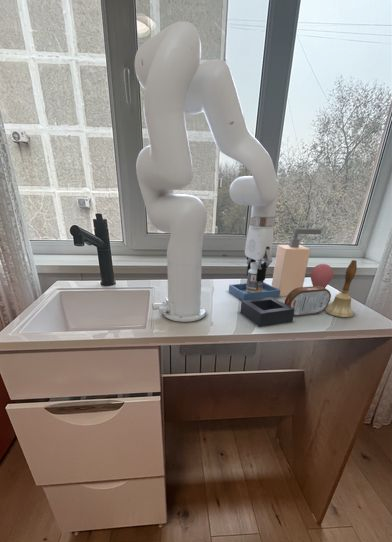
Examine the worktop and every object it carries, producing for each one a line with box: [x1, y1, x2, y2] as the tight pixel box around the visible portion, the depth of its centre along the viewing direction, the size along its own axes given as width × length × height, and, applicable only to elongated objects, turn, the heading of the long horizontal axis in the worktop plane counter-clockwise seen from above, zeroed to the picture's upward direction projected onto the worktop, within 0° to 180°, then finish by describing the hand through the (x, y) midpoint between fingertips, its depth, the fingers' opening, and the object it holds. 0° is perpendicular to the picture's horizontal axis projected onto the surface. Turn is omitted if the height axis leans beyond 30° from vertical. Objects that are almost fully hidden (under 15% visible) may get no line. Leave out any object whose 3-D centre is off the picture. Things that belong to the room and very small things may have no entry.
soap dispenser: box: [271, 228, 323, 297], centre depth 102 cm, size 13×9×22 cm
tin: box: [283, 285, 332, 317], centre depth 86 cm, size 15×3×8 cm, turn 109°
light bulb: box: [310, 263, 334, 289], centre depth 98 cm, size 7×7×12 cm
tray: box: [228, 281, 281, 301], centre depth 103 cm, size 14×11×3 cm
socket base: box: [239, 297, 295, 328], centre depth 84 cm, size 11×11×4 cm
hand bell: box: [324, 259, 358, 318], centre depth 86 cm, size 8×8×16 cm
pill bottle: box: [246, 261, 264, 293], centre depth 101 cm, size 6×6×10 cm
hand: (255, 277), depth 101 cm, fingers closed on pill bottle, 5 cm apart
